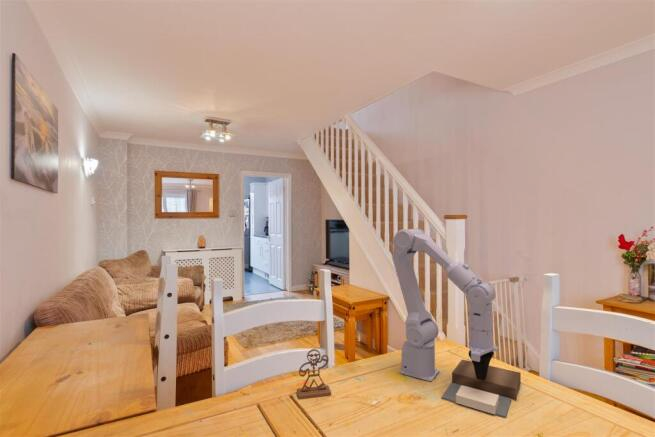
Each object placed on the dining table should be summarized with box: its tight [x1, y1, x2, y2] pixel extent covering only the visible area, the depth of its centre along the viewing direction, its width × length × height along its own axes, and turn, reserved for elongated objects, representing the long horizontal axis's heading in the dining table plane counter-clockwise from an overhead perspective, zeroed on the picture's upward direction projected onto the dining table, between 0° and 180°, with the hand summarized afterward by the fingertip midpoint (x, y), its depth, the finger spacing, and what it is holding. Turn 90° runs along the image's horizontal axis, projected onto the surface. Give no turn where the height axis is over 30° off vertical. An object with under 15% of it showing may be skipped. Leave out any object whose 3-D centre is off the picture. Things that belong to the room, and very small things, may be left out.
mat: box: [441, 382, 512, 419], centre depth 87 cm, size 15×10×1 cm, turn 55°
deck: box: [451, 359, 522, 401], centre depth 96 cm, size 16×11×3 cm
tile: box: [455, 385, 499, 415], centre depth 85 cm, size 9×6×2 cm, turn 55°
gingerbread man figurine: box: [296, 348, 332, 400], centre depth 91 cm, size 9×4×12 cm, turn 102°
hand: (481, 378), depth 90 cm, fingers closed
